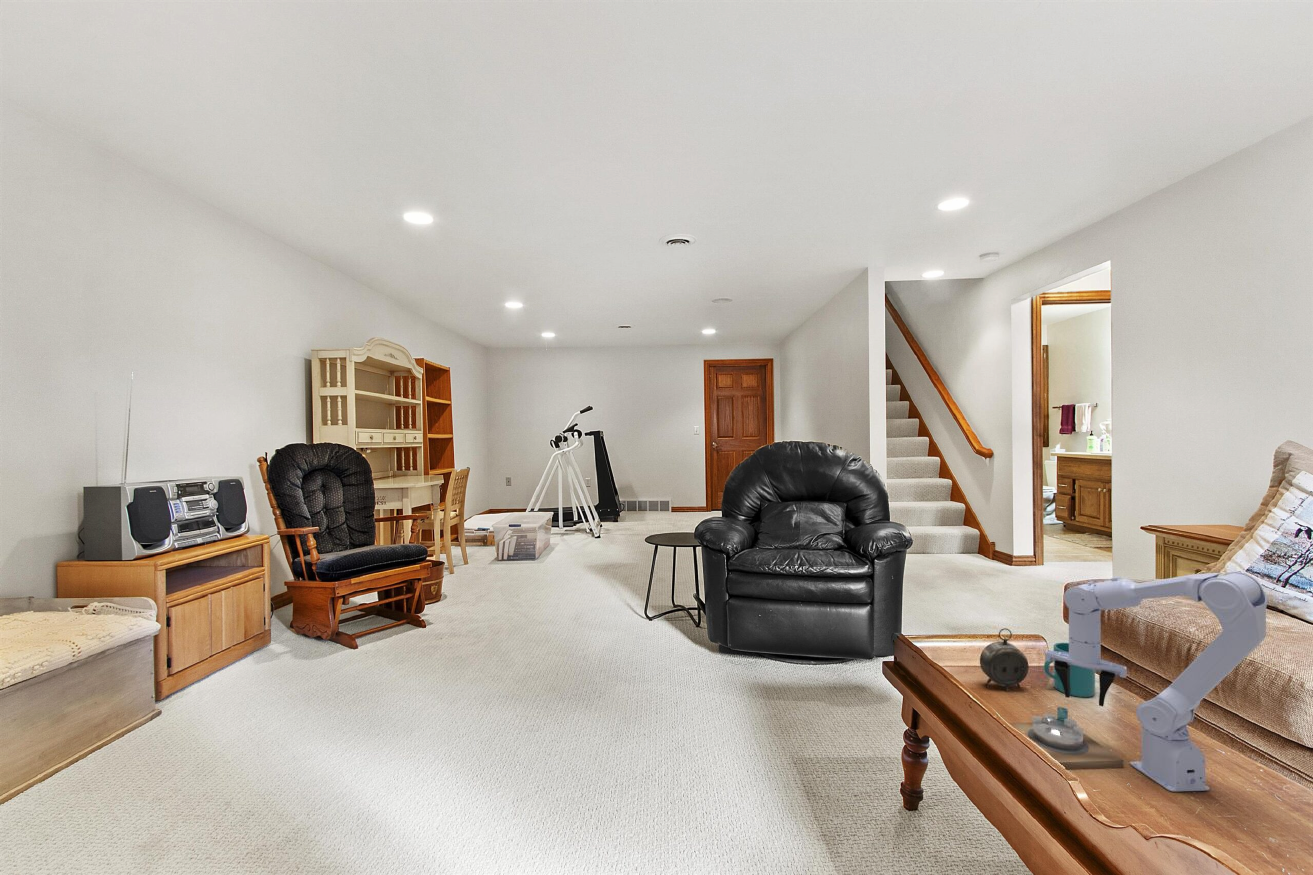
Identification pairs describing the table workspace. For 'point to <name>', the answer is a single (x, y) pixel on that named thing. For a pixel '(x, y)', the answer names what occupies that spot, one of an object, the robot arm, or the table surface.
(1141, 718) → the robot arm
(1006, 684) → the alarm clock
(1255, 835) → the table surface
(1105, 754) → the dial board
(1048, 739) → the rotary knob
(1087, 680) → the cup
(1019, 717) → the table surface
